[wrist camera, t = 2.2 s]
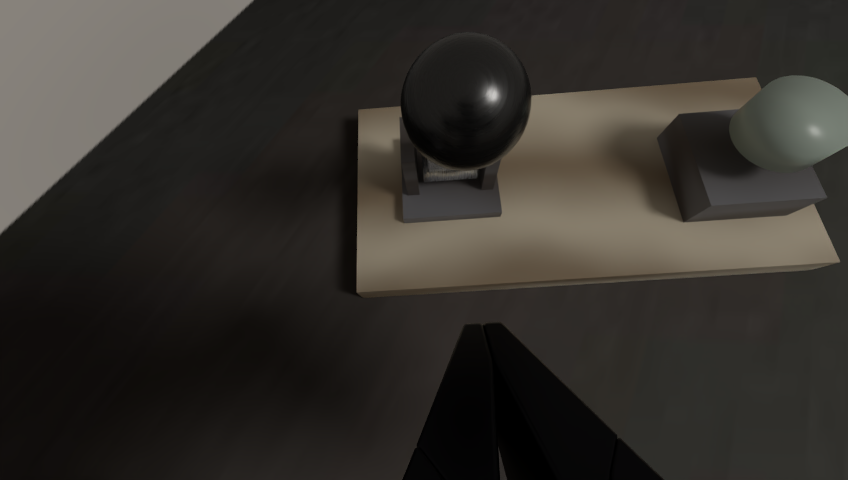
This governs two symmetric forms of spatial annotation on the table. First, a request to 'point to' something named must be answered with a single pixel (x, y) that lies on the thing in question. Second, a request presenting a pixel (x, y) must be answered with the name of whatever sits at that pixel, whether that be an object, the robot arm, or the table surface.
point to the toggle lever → (465, 105)
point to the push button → (791, 124)
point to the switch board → (586, 199)
